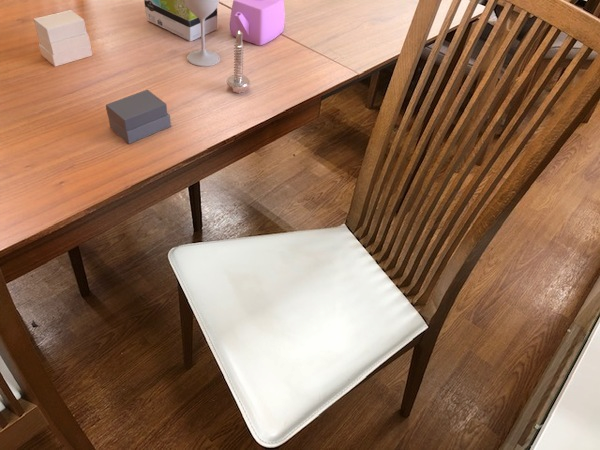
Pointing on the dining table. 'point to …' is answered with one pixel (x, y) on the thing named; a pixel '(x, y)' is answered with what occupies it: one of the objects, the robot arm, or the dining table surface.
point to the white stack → (65, 49)
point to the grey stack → (138, 116)
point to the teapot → (257, 20)
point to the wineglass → (202, 32)
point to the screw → (238, 67)
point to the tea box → (178, 18)
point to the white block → (60, 26)
